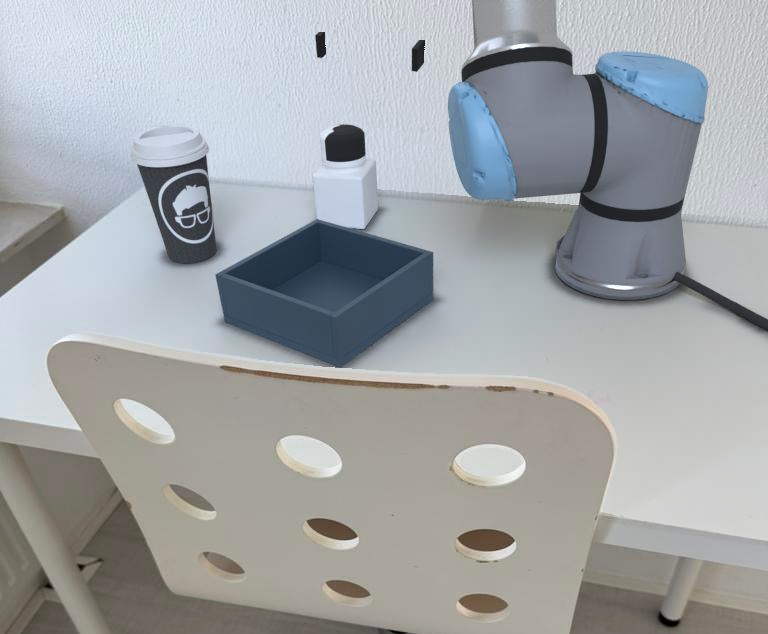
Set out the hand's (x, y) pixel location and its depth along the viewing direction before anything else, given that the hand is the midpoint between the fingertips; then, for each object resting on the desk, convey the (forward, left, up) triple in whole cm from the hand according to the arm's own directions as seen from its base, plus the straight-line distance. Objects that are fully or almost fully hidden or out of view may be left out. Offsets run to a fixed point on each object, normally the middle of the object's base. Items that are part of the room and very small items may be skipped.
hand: (365, 53), depth 101 cm
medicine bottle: (-1, +7, -20) cm, 21 cm away
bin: (-16, +29, -19) cm, 38 cm away
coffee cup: (+10, +27, -20) cm, 35 cm away
